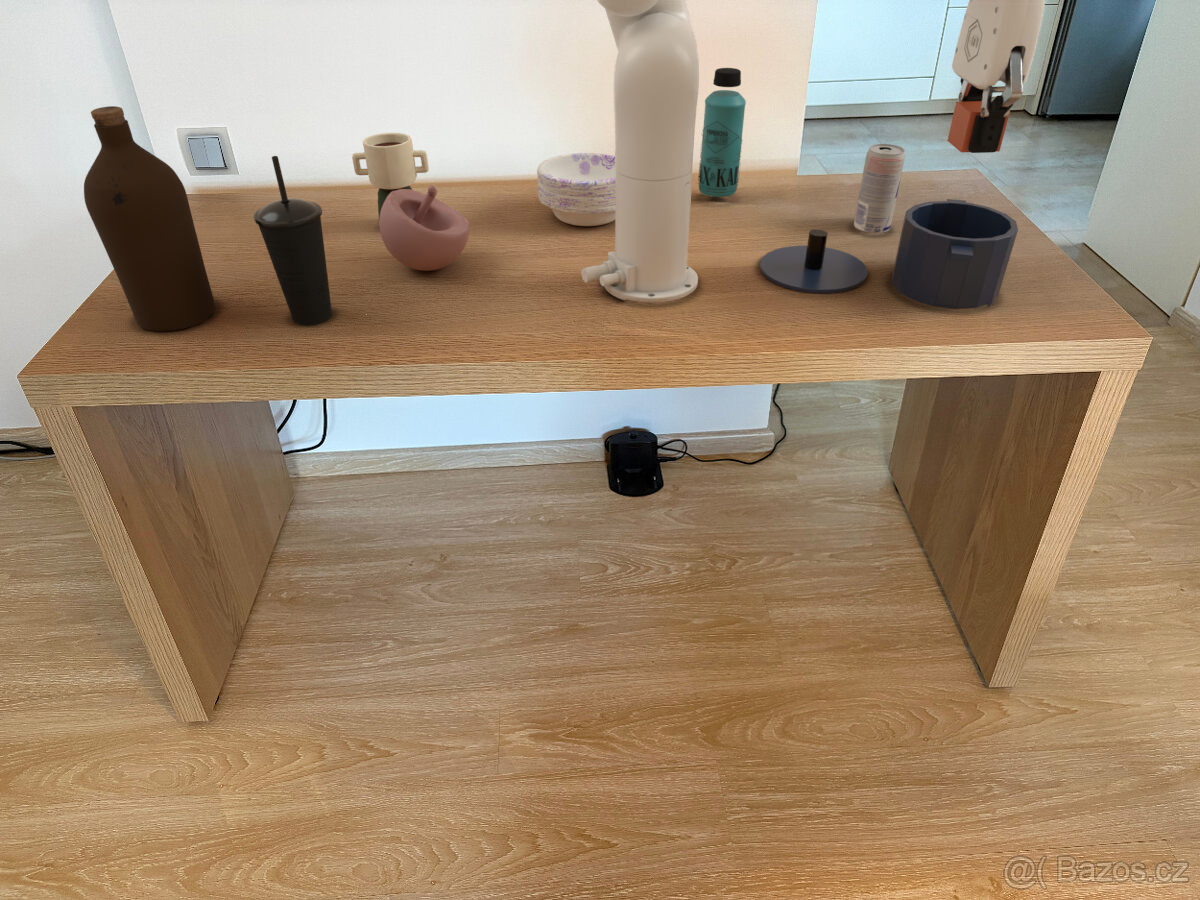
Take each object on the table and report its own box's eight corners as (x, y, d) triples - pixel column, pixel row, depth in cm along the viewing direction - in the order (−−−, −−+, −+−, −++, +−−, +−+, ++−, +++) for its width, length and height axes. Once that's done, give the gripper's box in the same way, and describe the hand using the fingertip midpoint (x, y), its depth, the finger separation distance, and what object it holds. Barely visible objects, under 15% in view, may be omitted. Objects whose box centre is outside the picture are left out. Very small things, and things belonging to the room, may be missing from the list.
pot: (991, 266, 117) (1010, 199, 111) (1001, 328, 102) (1024, 255, 97) (892, 255, 120) (906, 189, 114) (889, 314, 105) (905, 242, 100)
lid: (868, 259, 119) (876, 218, 115) (863, 303, 108) (871, 260, 104) (766, 248, 122) (771, 208, 119) (752, 290, 111) (756, 247, 108)
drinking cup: (284, 335, 102) (241, 171, 90) (277, 309, 108) (236, 151, 96) (348, 323, 105) (314, 162, 93) (338, 298, 110) (304, 143, 98)
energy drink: (886, 223, 129) (902, 143, 122) (892, 236, 125) (909, 155, 118) (850, 222, 130) (864, 143, 123) (855, 235, 125) (870, 154, 118)
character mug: (437, 214, 134) (426, 130, 126) (434, 232, 128) (423, 145, 120) (367, 218, 133) (352, 133, 125) (361, 235, 127) (345, 148, 119)
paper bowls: (625, 195, 140) (625, 147, 135) (644, 230, 128) (646, 178, 123) (534, 202, 138) (531, 153, 133) (545, 238, 126) (542, 185, 121)
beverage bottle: (697, 191, 141) (706, 63, 129) (737, 193, 140) (749, 64, 128) (696, 205, 136) (704, 73, 124) (737, 207, 135) (749, 74, 123)
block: (999, 151, 97) (1010, 111, 95) (961, 152, 97) (970, 112, 95) (984, 140, 101) (994, 100, 98) (947, 141, 101) (955, 101, 98)
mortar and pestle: (470, 283, 114) (461, 200, 107) (381, 287, 113) (366, 204, 106) (475, 247, 123) (467, 169, 116) (392, 250, 123) (379, 172, 116)
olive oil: (233, 317, 106) (171, 111, 91) (145, 343, 101) (64, 129, 86) (205, 288, 113) (142, 92, 98) (121, 312, 108) (42, 108, 93)
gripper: (951, -42, 95) (917, 125, 106) (1015, -20, 81) (969, 169, 92) (1017, -44, 95) (976, 123, 106) (1092, -22, 81) (1036, 167, 92)
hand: (973, 143), depth 99 cm, fingers closed on block, 4 cm apart
